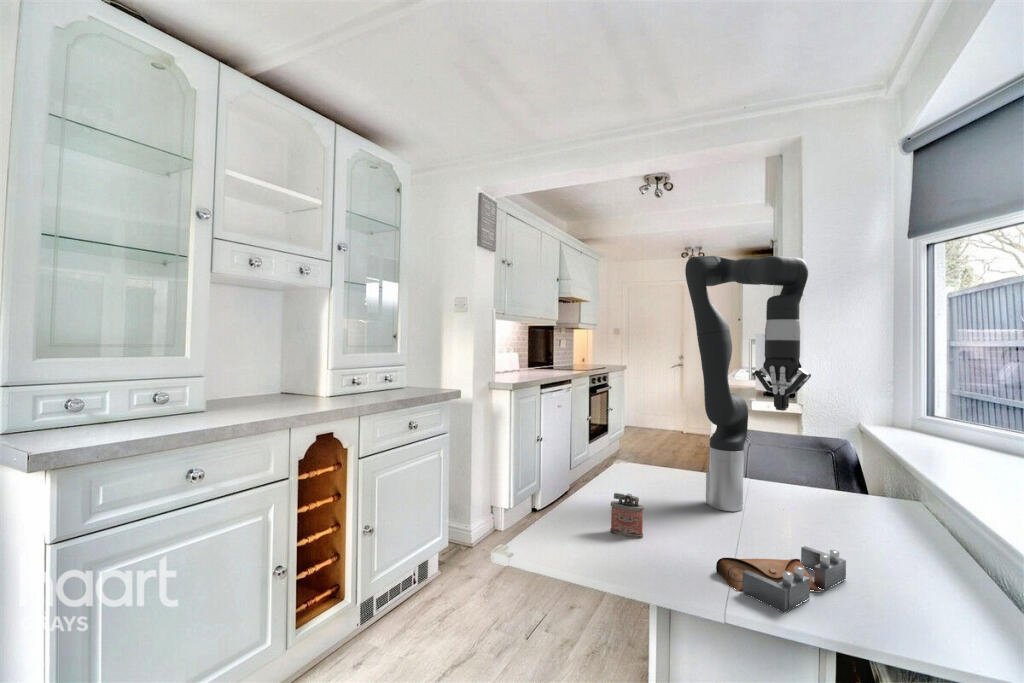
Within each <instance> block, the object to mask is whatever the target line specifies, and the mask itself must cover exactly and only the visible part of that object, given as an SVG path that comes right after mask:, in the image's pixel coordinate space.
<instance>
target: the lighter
mask: <svg viewBox="0 0 1024 683" xmlns="http://www.w3.org/2000/svg"><path fill="white" fill-rule="evenodd" d="M613 499H614V500H611V501H610V506H611V510H610V511H611V512H610V515H611V517H610V519H611V520H610V532H609V533H610V534H611V535H615V536H620V537H623V538H630V539H638V540H639V539H643V538H644V533H643V529H644V528H643V526H644V523H643V522H644V520H643V518H644V510H645V508H644V505H643V504H640V503H639V502H640V497H639V496H635V495H633V494H631V493H627V494H624V493H620V492H619V493H618V492H614V494H613ZM615 499H616V500H615Z"/></svg>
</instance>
